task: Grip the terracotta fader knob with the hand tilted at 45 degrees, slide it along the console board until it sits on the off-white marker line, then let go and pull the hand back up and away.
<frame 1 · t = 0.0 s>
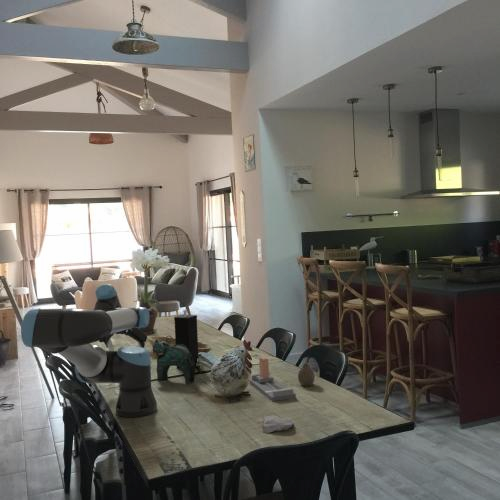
hand: (127, 351, 234), 15 cm above the table, tool tilted 35°, fingers open, 13 cm apart
fader knob: (264, 369, 231), point 7 cm above the table, slide at 0.0 cm
black rectangular column: (187, 367, 264), on the table
stone: (278, 427, 184), on the table
console board: (271, 390, 224), on the table
teal animal figurine: (175, 380, 243), on the table
vase: (306, 385, 229), on the table
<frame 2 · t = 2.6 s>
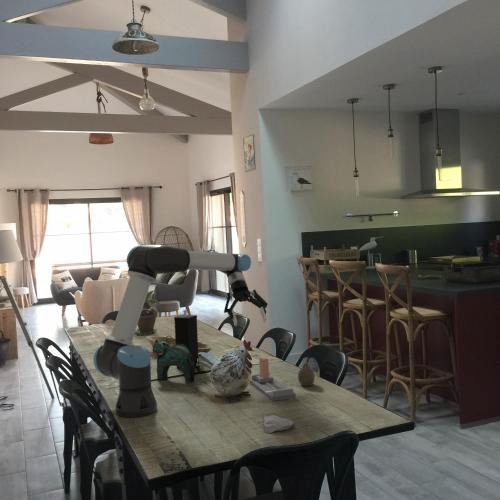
hand: (250, 322, 240), 25 cm above the table, tool tilted 45°, fingers open, 13 cm apart
nothing on the table moved.
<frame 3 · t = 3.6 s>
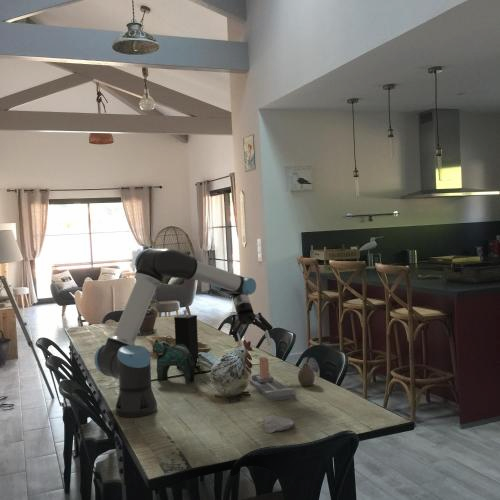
hand: (255, 345, 240), 15 cm above the table, tool tilted 45°, fingers open, 13 cm apart
nothing on the table moved.
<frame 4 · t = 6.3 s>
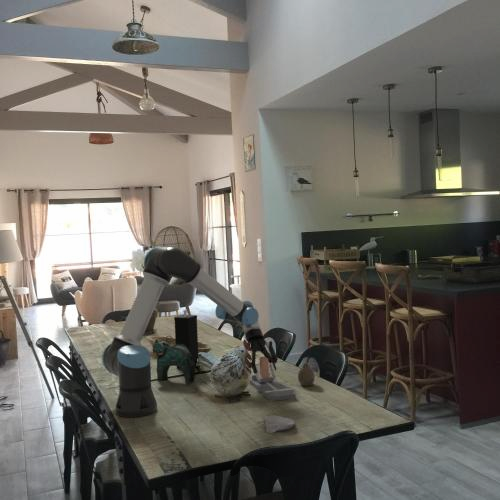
hand: (267, 378, 228), 4 cm above the table, tool tilted 45°, fingers closed on fader knob, 6 cm apart
fader knob: (264, 369, 231), point 7 cm above the table, slide at 0.0 cm, touching gripper
everything else where it was.
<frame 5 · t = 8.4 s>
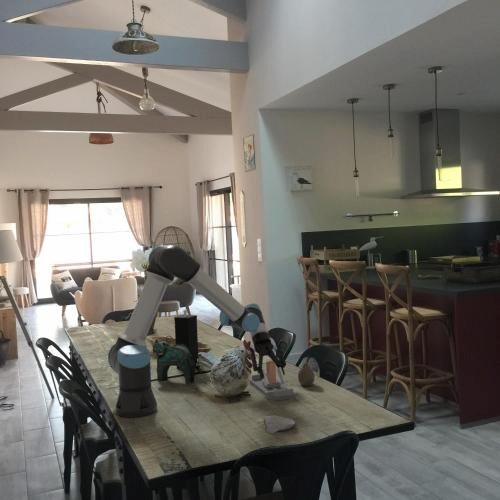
hand: (275, 383, 220), 4 cm above the table, tool tilted 45°, fingers open, 6 cm apart
fader knob: (271, 374, 223), point 7 cm above the table, slide at 8.1 cm, touching gripper
everything else where it was.
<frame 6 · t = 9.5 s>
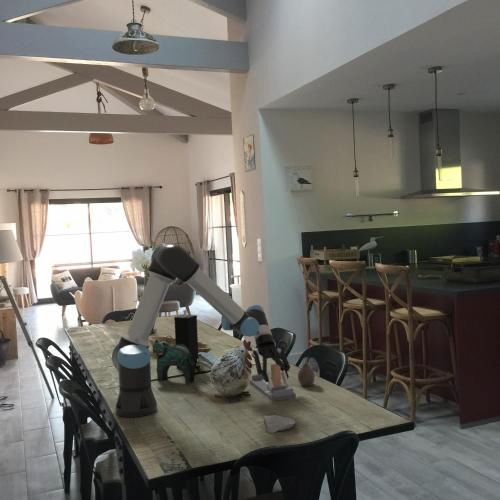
hand: (279, 387, 215), 4 cm above the table, tool tilted 45°, fingers closed on fader knob, 6 cm apart
fader knob: (275, 377, 218), point 7 cm above the table, slide at 13.3 cm, touching gripper
everything else where it was.
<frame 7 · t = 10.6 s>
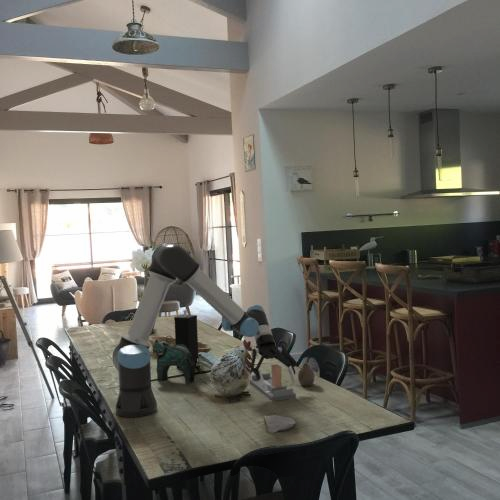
hand: (279, 384, 216), 5 cm above the table, tool tilted 45°, fingers open, 12 cm apart
fader knob: (276, 377, 218), point 7 cm above the table, slide at 14.0 cm
everything else where it was.
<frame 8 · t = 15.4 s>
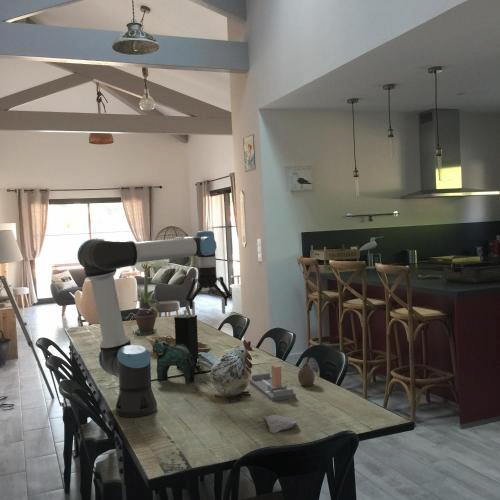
hand: (208, 315, 240), 29 cm above the table, tool pointing down, fingers open, 13 cm apart
at the end: fader knob slide at 14.0 cm; the gripper is holding nothing; vase moved 0.2 cm from its start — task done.
